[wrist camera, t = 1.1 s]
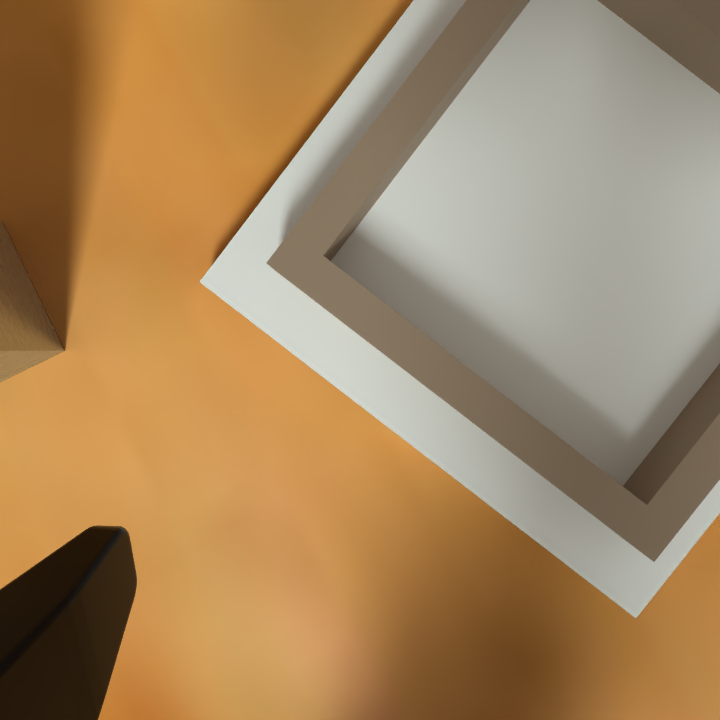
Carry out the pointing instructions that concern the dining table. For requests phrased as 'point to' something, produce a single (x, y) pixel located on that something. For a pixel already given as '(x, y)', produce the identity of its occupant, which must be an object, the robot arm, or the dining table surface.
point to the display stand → (521, 266)
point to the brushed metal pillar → (21, 316)
